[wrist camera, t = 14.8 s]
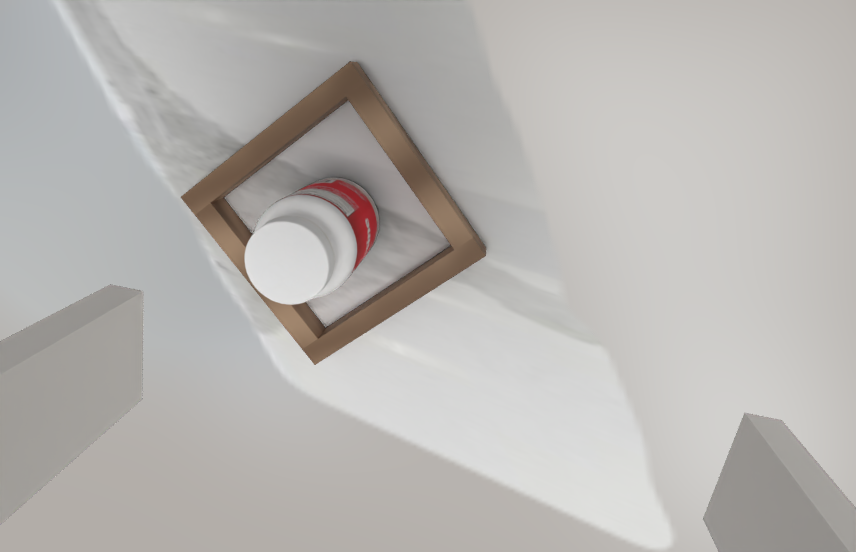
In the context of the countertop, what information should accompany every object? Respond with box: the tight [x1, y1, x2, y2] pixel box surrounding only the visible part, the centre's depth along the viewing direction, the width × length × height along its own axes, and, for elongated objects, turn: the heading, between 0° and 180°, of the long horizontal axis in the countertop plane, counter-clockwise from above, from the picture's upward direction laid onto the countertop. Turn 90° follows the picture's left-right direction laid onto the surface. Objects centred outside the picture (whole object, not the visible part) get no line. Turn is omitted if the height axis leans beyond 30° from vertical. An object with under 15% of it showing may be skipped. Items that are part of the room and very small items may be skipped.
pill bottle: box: [245, 178, 379, 305], centre depth 37 cm, size 6×6×11 cm
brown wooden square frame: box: [181, 61, 486, 365], centre depth 41 cm, size 15×15×2 cm
